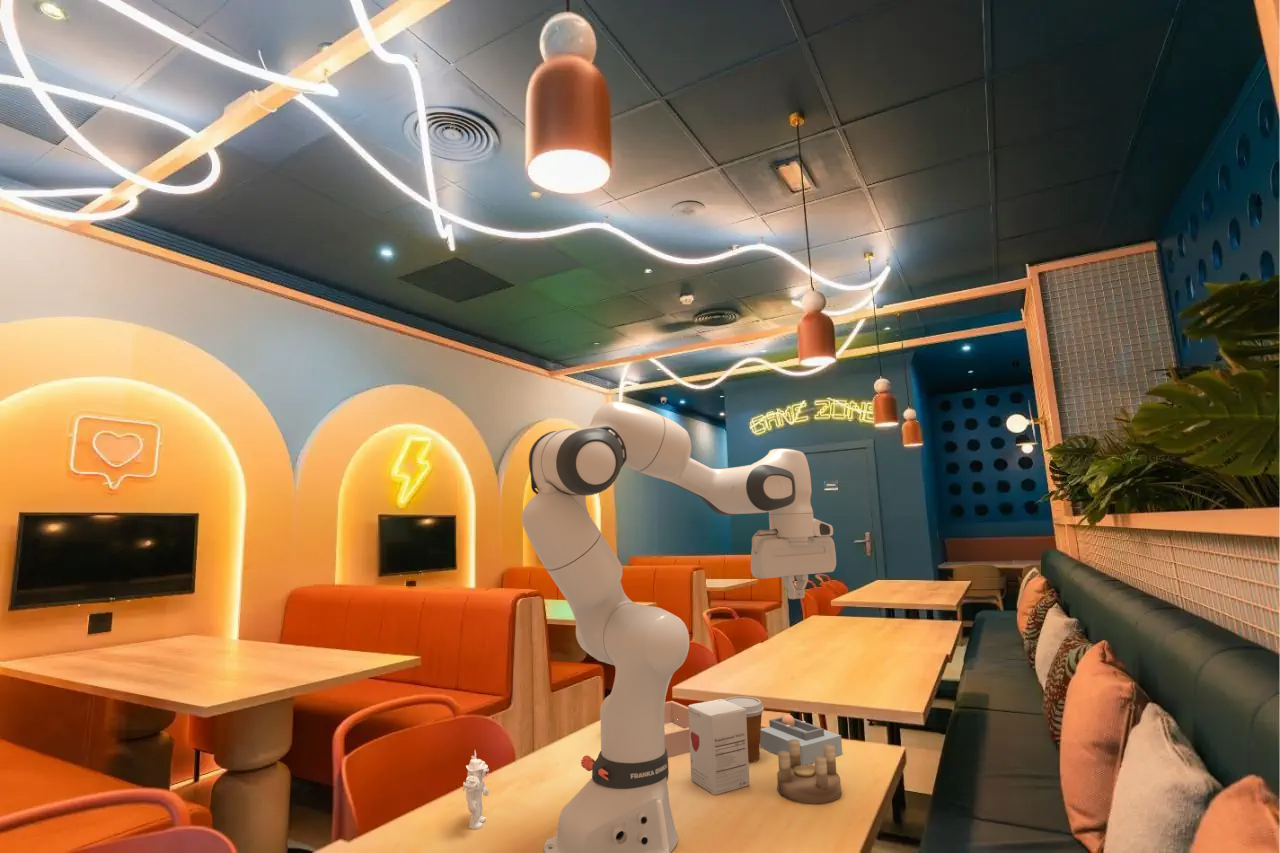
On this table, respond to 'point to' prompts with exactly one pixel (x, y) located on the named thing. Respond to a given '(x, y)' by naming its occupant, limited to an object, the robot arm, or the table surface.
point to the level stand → (807, 735)
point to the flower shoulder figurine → (476, 791)
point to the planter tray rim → (677, 739)
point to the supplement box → (718, 746)
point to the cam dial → (808, 776)
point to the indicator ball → (788, 720)
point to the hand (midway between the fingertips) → (796, 598)
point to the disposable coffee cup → (751, 723)
